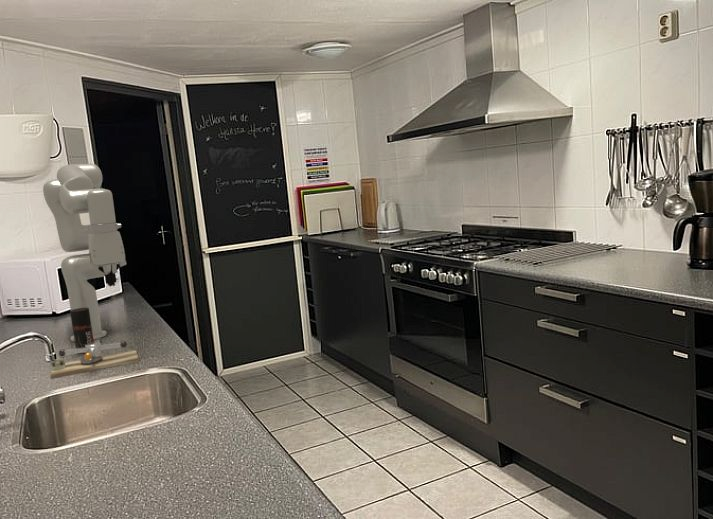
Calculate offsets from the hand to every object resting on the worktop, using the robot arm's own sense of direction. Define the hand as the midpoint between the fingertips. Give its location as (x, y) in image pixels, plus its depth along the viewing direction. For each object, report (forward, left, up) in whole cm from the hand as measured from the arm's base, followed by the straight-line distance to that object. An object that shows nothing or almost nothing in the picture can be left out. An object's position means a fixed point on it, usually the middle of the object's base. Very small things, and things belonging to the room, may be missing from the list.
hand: (111, 285), depth 193 cm
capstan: (+4, -8, -23) cm, 24 cm away
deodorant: (-16, -11, -24) cm, 31 cm away
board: (+4, -8, -24) cm, 26 cm away
